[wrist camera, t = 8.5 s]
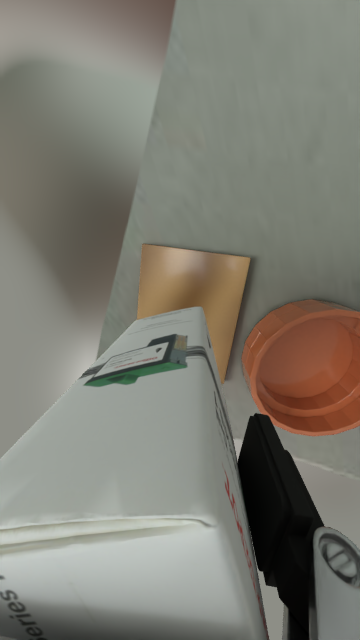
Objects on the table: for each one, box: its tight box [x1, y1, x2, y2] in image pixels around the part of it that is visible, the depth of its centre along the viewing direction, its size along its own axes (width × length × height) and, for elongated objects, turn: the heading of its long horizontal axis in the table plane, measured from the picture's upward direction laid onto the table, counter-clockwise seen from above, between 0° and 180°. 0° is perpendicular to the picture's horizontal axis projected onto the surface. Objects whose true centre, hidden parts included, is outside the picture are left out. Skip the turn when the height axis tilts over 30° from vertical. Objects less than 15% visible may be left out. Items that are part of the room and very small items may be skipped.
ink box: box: [0, 306, 269, 640], centre depth 9 cm, size 9×5×12 cm, turn 15°
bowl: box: [241, 299, 360, 436], centre depth 25 cm, size 15×15×5 cm
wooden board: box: [137, 244, 251, 384], centre depth 26 cm, size 12×16×1 cm
